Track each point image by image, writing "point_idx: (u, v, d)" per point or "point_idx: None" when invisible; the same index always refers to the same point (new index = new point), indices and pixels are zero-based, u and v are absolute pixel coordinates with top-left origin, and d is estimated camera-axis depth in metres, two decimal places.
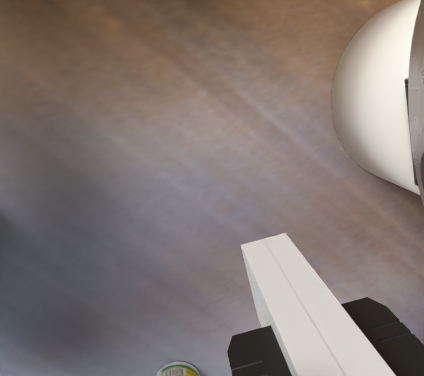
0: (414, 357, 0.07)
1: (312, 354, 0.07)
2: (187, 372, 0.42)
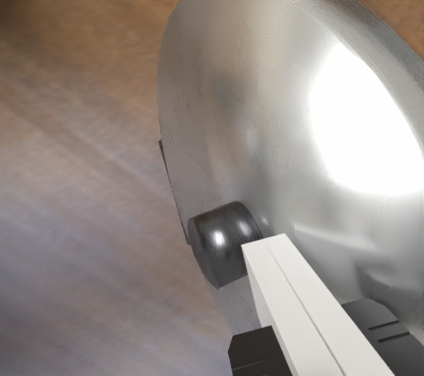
0: (413, 357, 0.07)
1: (312, 354, 0.07)
2: None
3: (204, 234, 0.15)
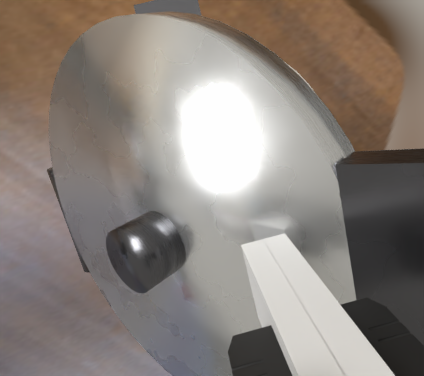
0: (413, 357, 0.07)
1: (312, 354, 0.07)
2: None
3: (130, 242, 0.16)
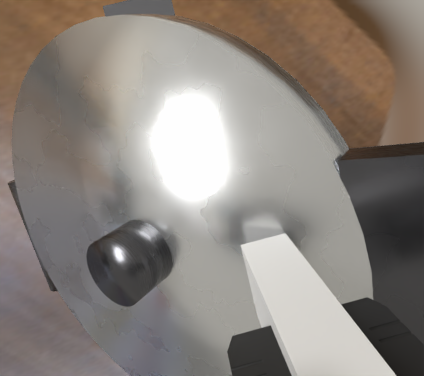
0: (414, 357, 0.07)
1: (312, 354, 0.07)
2: None
3: (116, 252, 0.15)
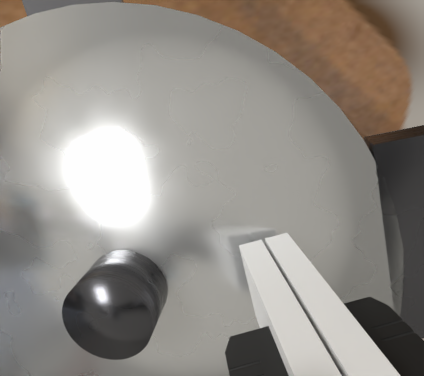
0: (417, 356, 0.07)
1: (308, 355, 0.07)
2: None
3: (118, 290, 0.12)
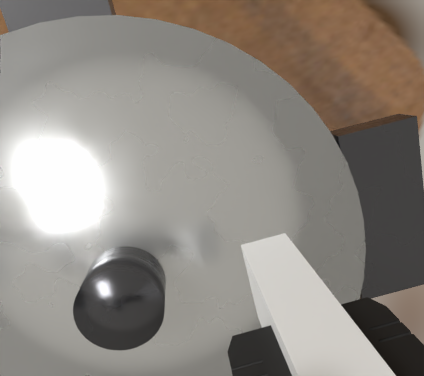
0: (414, 357, 0.07)
1: (312, 354, 0.07)
2: None
3: (132, 278, 0.13)
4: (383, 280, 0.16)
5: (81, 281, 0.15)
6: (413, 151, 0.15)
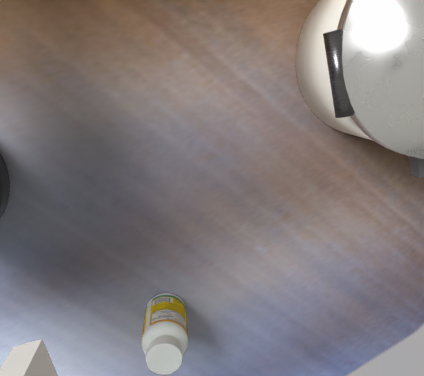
0: None
1: None
2: (174, 300, 0.49)
3: None
4: None
5: None
6: None
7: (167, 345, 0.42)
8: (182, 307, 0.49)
